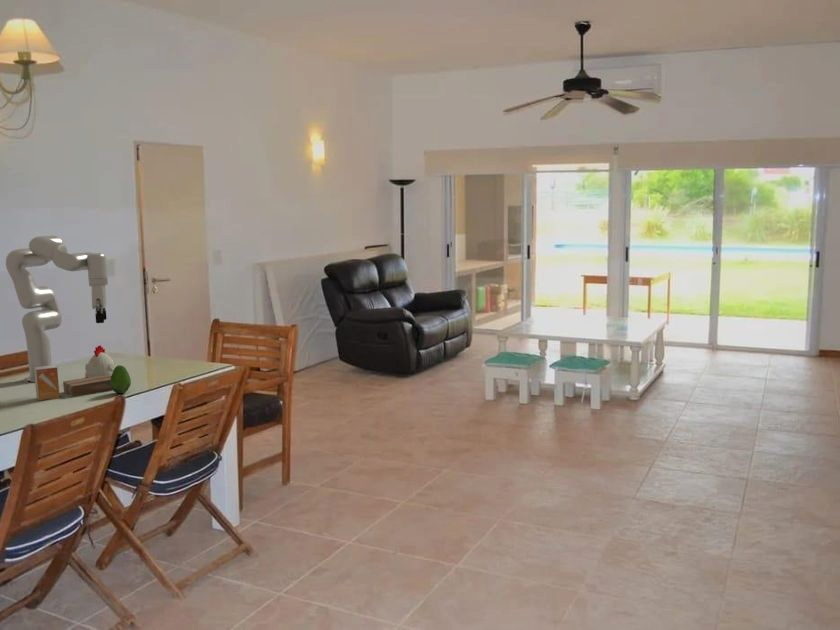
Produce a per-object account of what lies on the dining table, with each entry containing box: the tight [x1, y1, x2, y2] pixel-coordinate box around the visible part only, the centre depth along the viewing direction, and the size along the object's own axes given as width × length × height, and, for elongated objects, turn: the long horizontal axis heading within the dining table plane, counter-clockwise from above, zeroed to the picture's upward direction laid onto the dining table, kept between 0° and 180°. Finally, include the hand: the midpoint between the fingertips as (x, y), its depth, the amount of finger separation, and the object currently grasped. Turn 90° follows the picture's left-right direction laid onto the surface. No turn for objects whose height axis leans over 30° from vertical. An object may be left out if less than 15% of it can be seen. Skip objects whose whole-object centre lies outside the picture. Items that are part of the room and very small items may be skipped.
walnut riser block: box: [63, 375, 113, 398], centre depth 339 cm, size 12×18×5 cm, turn 131°
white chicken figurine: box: [84, 345, 117, 378], centre depth 363 cm, size 14×14×15 cm
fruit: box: [110, 365, 132, 394], centre depth 332 cm, size 8×8×12 cm
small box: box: [34, 364, 61, 401], centre depth 327 cm, size 8×6×13 cm
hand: (101, 321), depth 344 cm, fingers open, 9 cm apart
